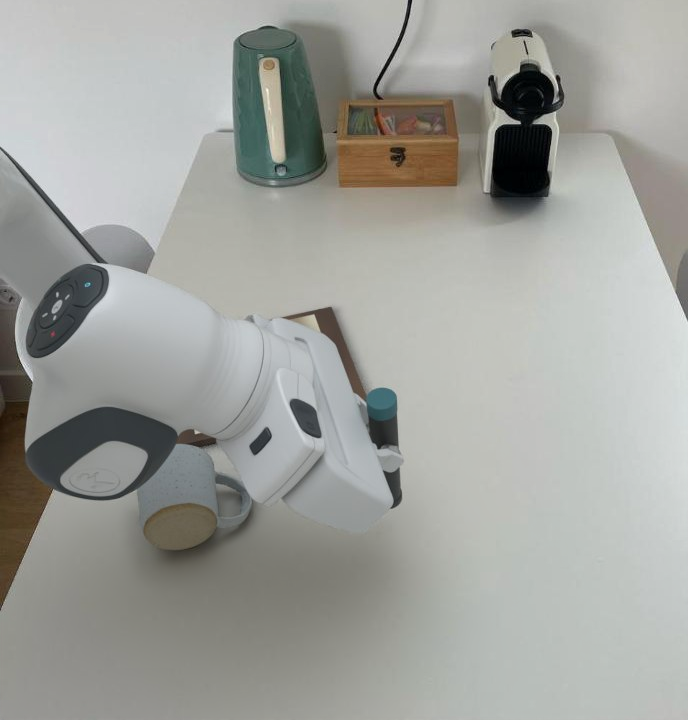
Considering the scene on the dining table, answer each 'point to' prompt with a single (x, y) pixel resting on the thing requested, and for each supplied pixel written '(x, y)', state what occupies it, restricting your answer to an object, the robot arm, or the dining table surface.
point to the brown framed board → (320, 322)
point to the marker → (385, 431)
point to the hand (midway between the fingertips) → (390, 445)
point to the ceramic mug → (186, 500)
